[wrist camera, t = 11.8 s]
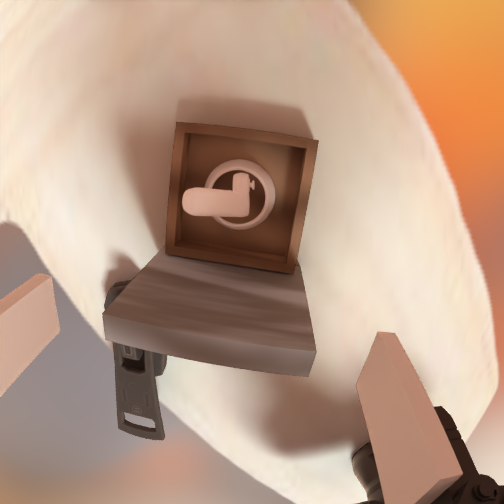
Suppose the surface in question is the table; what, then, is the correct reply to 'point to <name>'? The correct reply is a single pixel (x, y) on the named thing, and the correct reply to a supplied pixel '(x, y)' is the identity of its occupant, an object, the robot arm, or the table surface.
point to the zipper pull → (136, 382)
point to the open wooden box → (227, 262)
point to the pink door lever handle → (230, 195)
